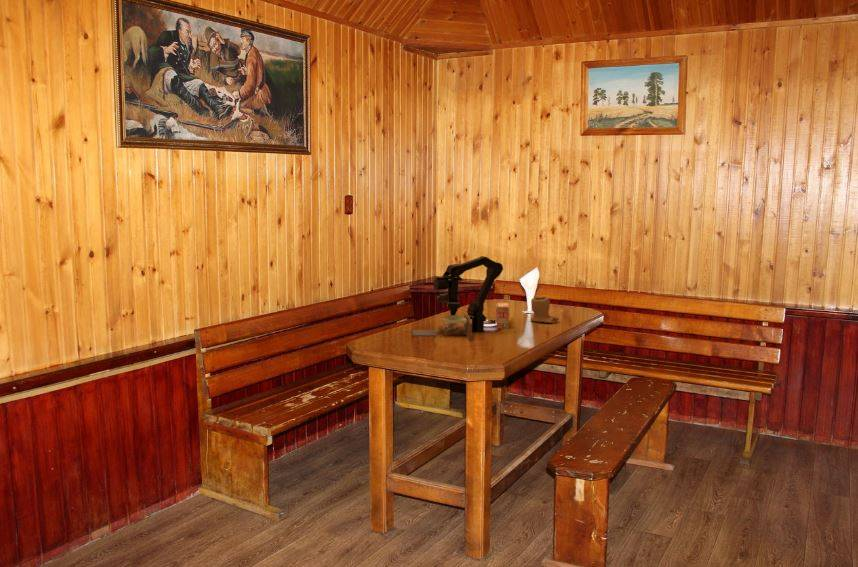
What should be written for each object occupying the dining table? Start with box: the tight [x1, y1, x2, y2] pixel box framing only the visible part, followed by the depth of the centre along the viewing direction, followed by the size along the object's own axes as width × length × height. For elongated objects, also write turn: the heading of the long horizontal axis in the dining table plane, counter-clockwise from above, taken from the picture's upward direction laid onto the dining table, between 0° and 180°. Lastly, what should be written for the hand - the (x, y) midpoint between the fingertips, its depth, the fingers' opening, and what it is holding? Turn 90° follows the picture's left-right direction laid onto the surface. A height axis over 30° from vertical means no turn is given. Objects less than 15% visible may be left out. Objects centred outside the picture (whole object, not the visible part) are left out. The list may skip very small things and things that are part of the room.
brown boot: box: [530, 295, 560, 324], centre depth 422 cm, size 15×12×15 cm
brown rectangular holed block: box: [437, 313, 473, 341], centre depth 381 cm, size 16×25×9 cm, turn 3°
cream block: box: [446, 323, 458, 330], centre depth 388 cm, size 4×4×6 cm
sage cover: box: [442, 314, 467, 324], centre depth 380 cm, size 12×8×3 cm, turn 93°
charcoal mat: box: [412, 329, 438, 338], centre depth 382 cm, size 12×12×1 cm
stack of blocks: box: [494, 302, 510, 329], centre depth 413 cm, size 21×6×12 cm, turn 178°
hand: (452, 318), depth 385 cm, fingers closed
